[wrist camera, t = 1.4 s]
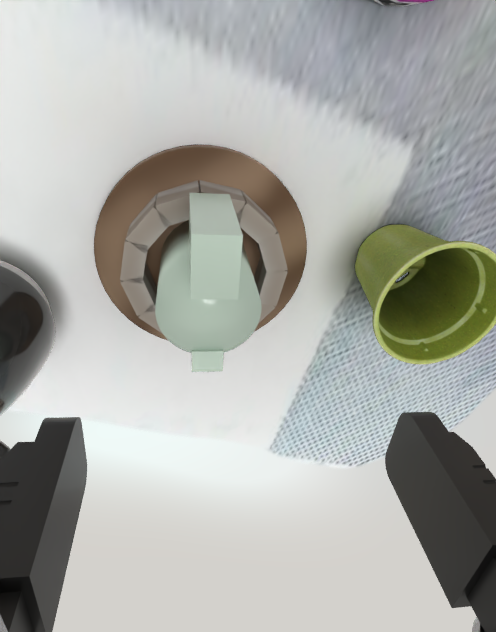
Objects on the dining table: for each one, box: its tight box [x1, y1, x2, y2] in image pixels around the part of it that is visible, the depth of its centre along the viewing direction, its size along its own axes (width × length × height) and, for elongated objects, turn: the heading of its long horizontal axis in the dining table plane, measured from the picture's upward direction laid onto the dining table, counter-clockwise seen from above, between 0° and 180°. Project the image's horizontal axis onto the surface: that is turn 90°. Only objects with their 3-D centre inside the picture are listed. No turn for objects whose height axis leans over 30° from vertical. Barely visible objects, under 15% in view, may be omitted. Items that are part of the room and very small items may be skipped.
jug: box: [155, 193, 261, 372], centre depth 28 cm, size 11×6×12 cm, turn 176°
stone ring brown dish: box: [94, 145, 307, 340], centre depth 32 cm, size 16×16×4 cm
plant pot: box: [355, 225, 496, 364], centre depth 33 cm, size 9×9×9 cm
